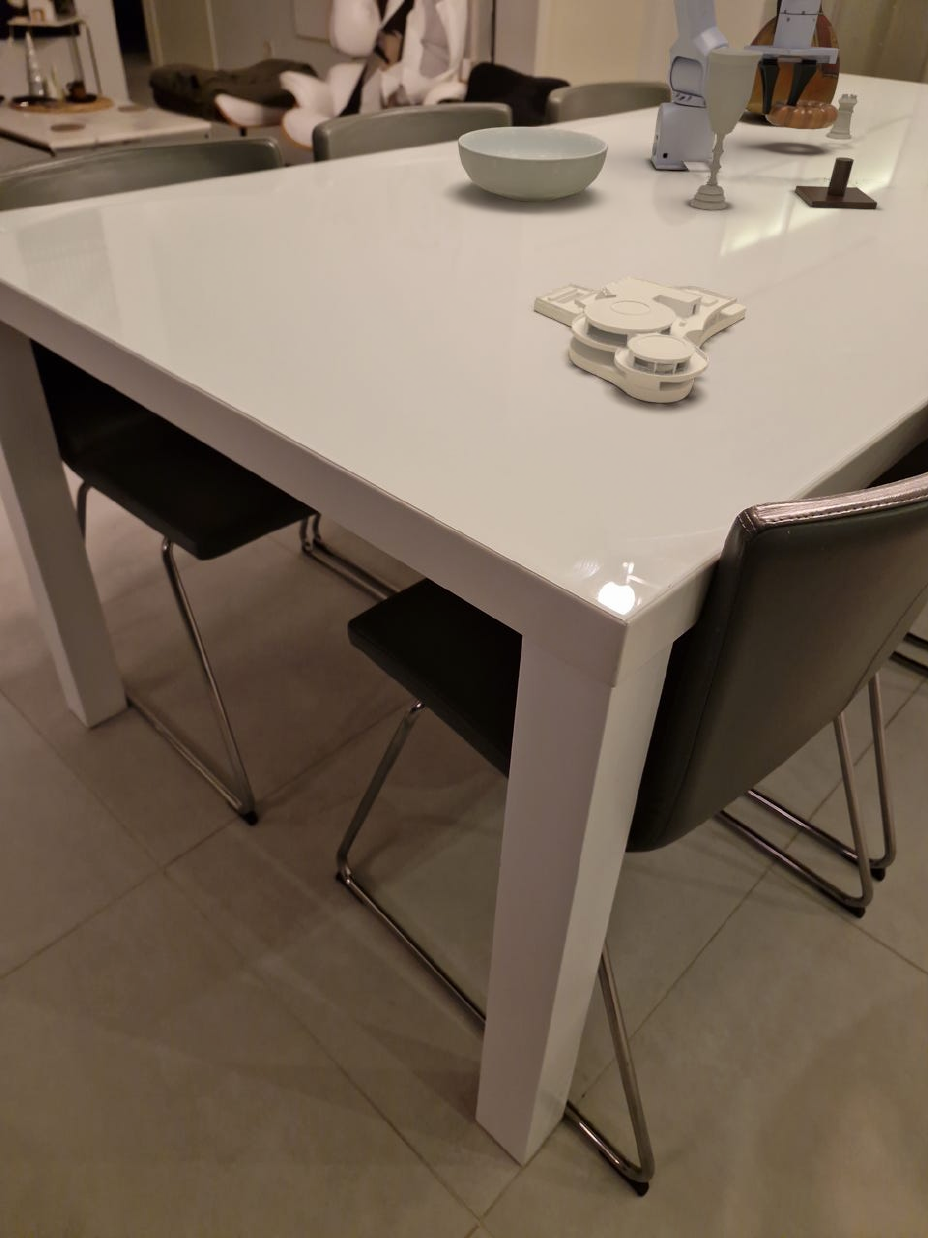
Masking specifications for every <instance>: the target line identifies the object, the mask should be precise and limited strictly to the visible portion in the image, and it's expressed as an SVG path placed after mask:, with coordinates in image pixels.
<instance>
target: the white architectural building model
mask: <svg viewBox="0 0 928 1238" xmlns="http://www.w3.org/2000/svg"><path fill="white" fill-rule="evenodd" d="M737 301H738V297H736V296H732V295H729V294H725V293H721V292H717V291H713V290H710V289H707V288H704V287H700V286H695V285H690V284H685V285H669V286H668V285H663V284H660V283H656V282H654V281H653V282H652V281H649V280H644V279H641V278H638V277H634V276H627V277H626V278H623V279H620V280H618V281H614V282H611V283H609V284H607V285H604V286H602V287H600V288H597V289H594V288H591V287H588V286H585V285H580V284H576V283H573V282H570V283H568V284H567V283H566V284H565V285H563V286H559V287H557V288H555V289H552V290H550V291H547V292H545V293H542V294H539V295H536V296H535V299H534V301H533V311H535V312H537V313H539V314H541V315H544V316H545V317H548V318H550V319H553V320H555V321H557V322H560V323H561V324H563V325H565V326H568V327H570V328H571V330H570V331H571V334H572V335H573V337H571V338H570V342H569V351H568V356H569V359H570V361H571V362H572V363H573V364H574V365H575V366H577V367H578V368H580V369H582V370H584V371H586V372H588V373H590V374H593V375H595V376H596V377H599V378H601V379H603V380H606V381H607V382H609V383H612V384H613V385H615V386H617V387H618V388H620V389H621V390H622V391H623V392H625V393H626V394H627V395H629V396H630V397H632V398H634V399H637V400H639V401H643V402H649V403H657V404H658V403H659V404H664V403H665V404H667V403H668V404H669V403H675V402H679V401H682V400H683V399H685V398H686V397H688V395H689V394H690V393H691V391H692V389H693V386H694V380H695V378H697V377H699V376H701V375H702V374H703V373H705V372H706V371H707V369H708V368H709V363H710V357H709V355H708V354H707V353H705V351H703V350H702V349H701V347H702V345H703V344H704V343H705V342H706V341H707V340H708V339H709V338H711V337H712V336H714V335H715V334H717V333H719V332H720V331H722V330H724V329H726V328H728V327H730V326H732V325H734V324H735V323H737V322H740V321H741V320H743V319H745V318H746V313H747V307H748V306H747V305H744V304H740V303H737Z"/></svg>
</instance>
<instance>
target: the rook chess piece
mask: <svg viewBox="0 0 928 1238" xmlns="http://www.w3.org/2000/svg"><path fill="white" fill-rule="evenodd" d="M857 98H858V95H857V94H854V93H850V94H849V93H842V94H841V97H840V98H839V99H838V103H839V107H838V108H837V110H838V119H837V121H836V122H835V123H834V124H833V125H832V127H831V129H829V132H828V133H826V138H828V139H831V140H841V141H844V140H845V141H847V140H848V141H849V140H852V135H851V129H850V128H851V120H852V115H853V114H854V113H855V111H854V108H855V106H856V105H857V104H858V102H859V101H858V99H857Z"/></svg>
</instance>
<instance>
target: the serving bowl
mask: <svg viewBox="0 0 928 1238" xmlns="http://www.w3.org/2000/svg"><path fill="white" fill-rule="evenodd" d="M457 146H458V153H459V154H458V155H459V159H460V162H461V165H462V168H463V170H464V172H465V173H466V175H467V176H468V178H469V179H470V180H471V181H472V182H473V183H474V184H475V185H477V186H478V187H480V188H481V189H483V190H485V191H487V192H489V193H492V194H495V195H499V196H501V197H503V198H505V199H508V200H511V201H517V202H524V203H525V202H527V203H542V202H549V201H554V200H558V199H560V198H564V197H569V196H573V195H575V194H578V193H580V192H581V191H583V190H585V189H587V188H588V187H589V186H590V185H592V183H593V182H595V180H596V179H597V178H598V176H599V175H600V173H601V171H602V169H603V167H604V165H605V162H606V159H607V155H608V150H609V145H608V142H606V140H604V139H603V138H601V137H598V136H596V135H592V134H589V133H587V132H581V131H575V130H571V129H564V128H554V127H542V126H541V127H539V126H538V127H537V126H502V127H501V126H500V127H491V128H490V127H489V128H481V129H477V130H473V131H469V132H466V133H464V134H462V135H461V136H460V137H459V138H458V141H457Z"/></svg>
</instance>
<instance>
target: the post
mask: <svg viewBox="0 0 928 1238" xmlns="http://www.w3.org/2000/svg"><path fill="white" fill-rule="evenodd" d="M854 162H855V160H854V159H853V158H852V157H851V158H849V157H841V156H840V157H836V158H835V161H834V165H833V168H832V172H831V176H830V180H829V184H828V186H820V185H817V186H815V185H796V186H795V189H794V190H795V191H794V193H796V194H797V195H798V196H799V197H800V198H801V199H802V200H803V201H804V202H805V203H806V204H808V205H809V206H810V208H831V209H832V208H834V209H867V210H868V209H871V210H876V209H877V205H878V202H877V201H876V200H874V199H873V198H872V197H870V196H869V195H867V194H866V193H865V192H864V191H863V190H861V189H860V188H859V187H854V186H853V187H852V186H851V187H850V186H848V183H849V180H850V176H851V173H852V169H853V166H854Z"/></svg>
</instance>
